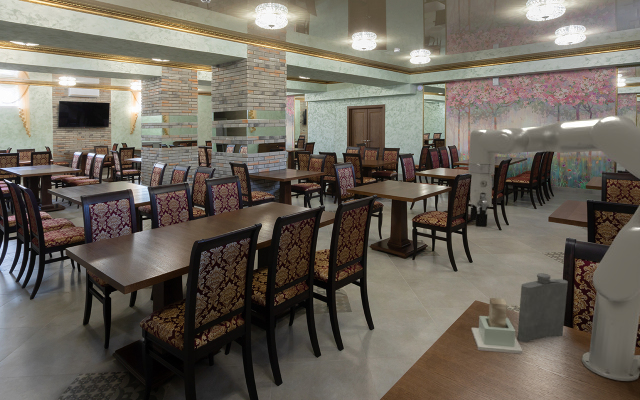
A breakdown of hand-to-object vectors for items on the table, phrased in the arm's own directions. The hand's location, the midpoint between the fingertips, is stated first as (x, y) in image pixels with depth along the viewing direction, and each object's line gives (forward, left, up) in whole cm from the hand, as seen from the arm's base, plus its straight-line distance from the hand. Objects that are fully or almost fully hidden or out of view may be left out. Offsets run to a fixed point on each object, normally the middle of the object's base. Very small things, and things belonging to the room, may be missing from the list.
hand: (478, 222), depth 129 cm
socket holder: (-5, +11, -34) cm, 36 cm away
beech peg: (-5, +11, -33) cm, 35 cm away
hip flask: (-19, +5, -34) cm, 40 cm away
